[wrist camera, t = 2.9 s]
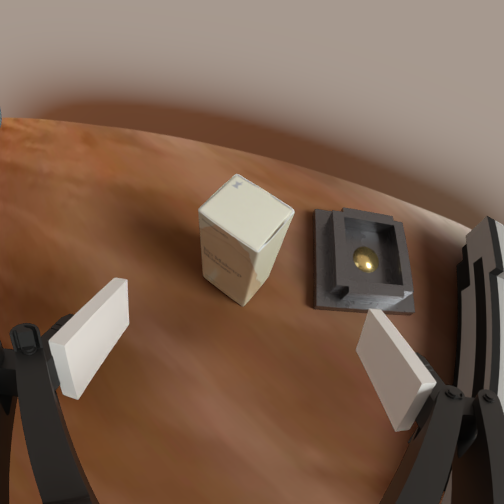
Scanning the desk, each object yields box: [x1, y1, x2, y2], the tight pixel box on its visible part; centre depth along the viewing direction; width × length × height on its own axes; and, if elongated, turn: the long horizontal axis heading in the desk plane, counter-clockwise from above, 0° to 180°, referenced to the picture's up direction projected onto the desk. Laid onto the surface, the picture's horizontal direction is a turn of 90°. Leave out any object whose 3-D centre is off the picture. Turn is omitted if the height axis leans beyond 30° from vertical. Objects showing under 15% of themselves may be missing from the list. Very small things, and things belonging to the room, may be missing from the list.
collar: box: [313, 208, 415, 315], centre depth 30 cm, size 11×11×3 cm
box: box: [198, 174, 294, 306], centre depth 24 cm, size 5×4×11 cm
